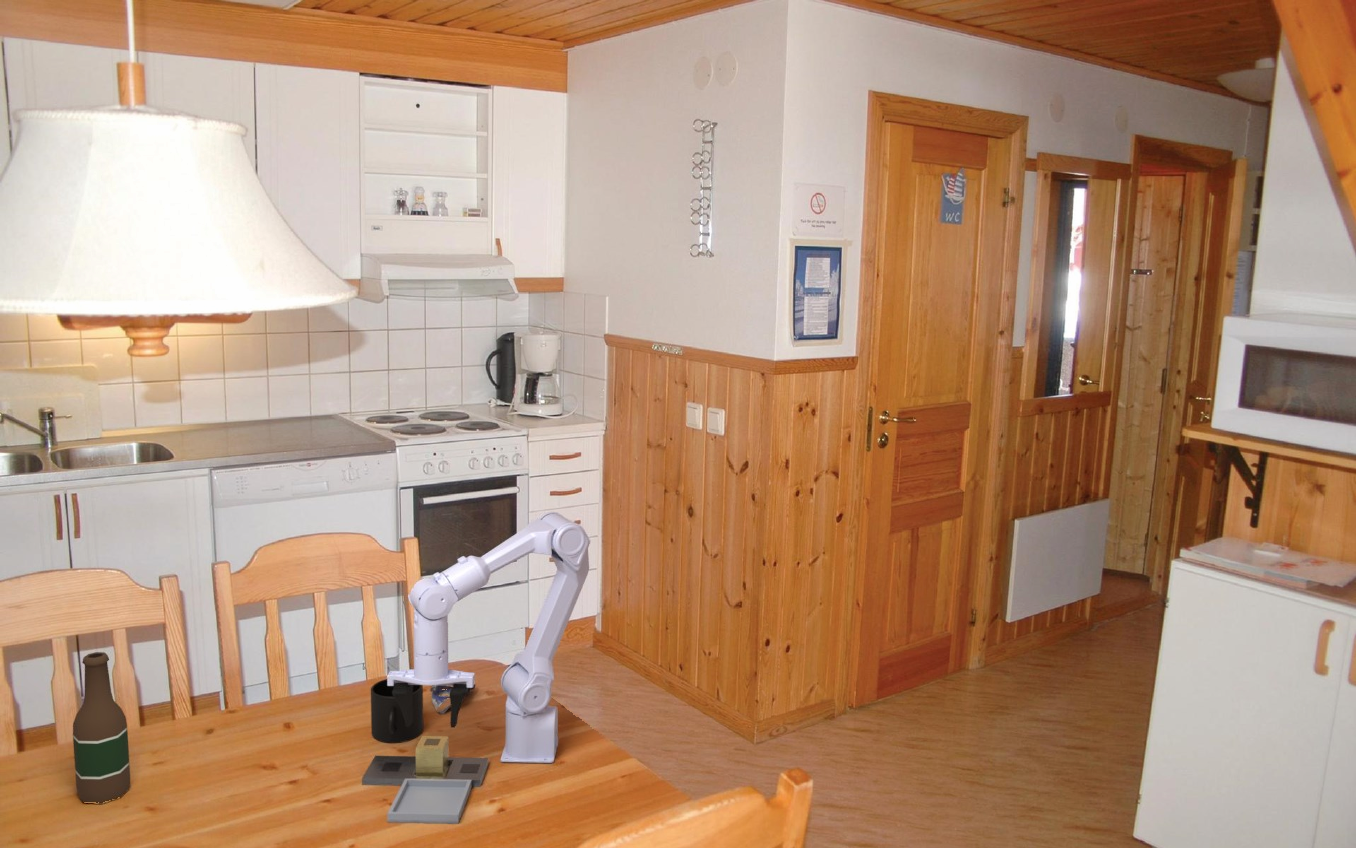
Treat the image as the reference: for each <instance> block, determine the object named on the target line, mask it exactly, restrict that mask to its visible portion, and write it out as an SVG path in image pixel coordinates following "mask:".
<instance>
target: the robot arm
mask: <svg viewBox="0 0 1356 848" xmlns="http://www.w3.org/2000/svg"><path fill="white" fill-rule="evenodd" d="M590 544H591V540H590V537H589V535H588V534H587V532H586V530H585V529H584V527H583V526H582V525H580V524H579V523H576V522H574V521H572V520H570V519H568V518H566V517H565V516H564V515H562V514H560V513H559V512H555V511H550V512H546V513H544V514H543V515H541V516H540V517H539V518H535V519H533V520H531V521H530V522H529V523H528V524H527V525H526V526H525V527H524V528H523V529H521V530H520V531H518V532H516V533H515V534H514V535H512V536H510V537H509V538H508V539H506V540H504V541H502V543H500V544H499V545H497V546H496V547H494V548H492V549H491V550H489V551H488V552H487V553H485V554H483V555H481V556H474V555H469V556H467V557H466V556H464V555H463V556H461V557H459V558H457V562H456V563H455V564H453V565H451V566H450V567H448V568H447V569H445V570H443V571H441V572H438V571H437V572H435V573H433V574H432V575H433V576H432V577H429V578H428V577H425V578H423V579H419V580H418V581H417V582H416V583H414V585H413V587H411V590H410V593H408V595H407V597H408V601H409V603H410V605H411V606H412V608H414V609H413V627H412V628H413V669H405V670H390V671H389V672H388V674H387V675H386V676H387V677H386V679H387V686H394V689H393V691H392V693H393V696H394V698H395V699H396V701H397V702H398V704H399V706H400V708H401V710H402V713H403V716H404V720H405V724H406V727H410V726H411V724H412V722H413V706H412V696H413V685H423V686H432V685H441V686H451V687H453V688H452V689H451V691H450V698H449V700H450V705H451V707H450V721H449V722H450V728H451V729H454V728H455V729H456V726H457V724H458V719H459V715H460V714H459V713H460V710H461V709H460V708H461V705H462V703H463V701H464V700H463V698H464V695H465V693H466V690H467V688H473V686H474V684H476V679H475V678H476V675H475V674H476V672H467V671H461V670H455V669H449V622H448V620H449V619H448V616H449V614H450V612H451V611H452V610H453V606H454V605H455V604H456V603H458V602H459V601H461V600H463V599H464V598H466V597H468V596H470V595H471V594H472V593H474V592H476V591H477V590H478V591H479V589H481V588H483V587H484V586H486V585H488V583H489V580H490V577H491V575H492V574H493V573H495V572H497V571H499V570H501V569H504V567H506V566H508V565H509V566H510V564H513V563H514V562H516V561H518V560H520V559H522V558H524V557H526V556H527V555H529V554H539V555H547V556H550V557H551V559H552V561H553V562H554V565H555V566H556V572H555V574H554V577H553V579H552V581H551V584H550V587H549V589H548V591H547V594H546V596H545V599H544V601H543V604H542V606H541V608H540V611H539V613H538V616H537V618H536V621H535V623H534V626H533V628H532V631H531V634H530V635H529V638H528V641H527V643H526V645H525V648H524V649H523V650H522V651H520V652H518V653H517V654H515V656H514V658H513V660H512V663H510V665H509V666H508V667H507V668H506V669H505V670H504V671H503V672H502V675H501V678H500V687H501V689H502V691H503V692H504V693H505V694H506V701H505V744H504V748H503V750H502V754H501V756H500V762H501V763H539V764H540V763H541V764H551V763H554V762H555V758H556V754H557V753H556V752H557V751H558V750H557V748H558V746H559V736H558V735H559V734H558V732H559V731H558V729H559V728H558V727H559V724H558V723H559V711H558V706H555V705H549V704H550V701H551V699H552V685H553V682H554V679H555V674H554V665H553V660H554V658H555V655H556V654H557V650H558V649H559V646H560V643H561V641H562V638H563V636H564V633H565V631H566V628H567V626H568V623H569V620H570V618H571V616H572V614H573V611H574V609H575V606H576V604H577V602H578V599H579V597H580V594H581V591H582V589H583V587H584V585H585V582H586V579H587V577H588V574H589V571H590V564H589V563H590V561H589V560H590V559H589V547H590ZM464 699H465V698H464Z"/></svg>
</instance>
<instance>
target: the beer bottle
mask: <svg viewBox="0 0 1356 848" xmlns="http://www.w3.org/2000/svg"><path fill="white" fill-rule="evenodd" d="M109 661H110V658H109V655H108V653H106V652H104V651H99V652H98V651H97V652H90V653H88V654H87V655H85V656H84V657H83V658H82V664H83V665H84V697H83V704H82V705H81V707H80V708H79V710H78V711H77V713H76V714H75V718H74V721H73V723H72V742H73V757H74V759H73V760H74V771H75V783H76V784H75V785H76V792H77V797H78V796H79V797H80V798H79V799H80V800H81V802H82V801H83V802H96V803H98V802H99V803H103V802H105V801H109V800H112V799H116V798H118V797H121V796H122V795H123V794H124V793H125V792H126V791H127V790H128V789H129V788H130V789H131V770H130V769H131V767H130V754H129V753H130V751H129V736H128V735H129V733H128V732H129V731H128V723H127V717H126V715H125V713H124V711H123V709H122V708H121V707H120V706H119V704H118V703H117V702H116V701H115V699H114V697H113V693H112V688H111V681H110V680H111V679H110V674H109V673H110V671H109V666H108V665H109V664H108V662H109ZM130 789H129V790H130ZM129 790H128V791H129ZM128 791H127V792H128ZM127 792H126V793H127ZM126 793H125V794H126ZM125 794H124V795H125ZM124 795H123V796H124ZM123 796H122V797H123ZM122 797H121V798H122ZM83 802H82V803H83Z"/></svg>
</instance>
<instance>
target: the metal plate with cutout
mask: <svg viewBox="0 0 1356 848" xmlns="http://www.w3.org/2000/svg"><path fill="white" fill-rule="evenodd" d="M448 759H449V769H448V771H447V773H446V776H445V777H432V776H416V755H415V756H413V755H412V756H407V755H406V756H404V755H374V757H373V759H372V760H371V762H370V764H369V766H368V767H367V769H366V770H365V773H364V774H363V776H362V778H361V785H362V786H364V785H365V786H366V785H367V786H402V784H403V782H404V780H405V778H408V779H459V780H472V788H481V785H482V783H483V781H484V778H485V774H486V773H487V769H488V766H489V757H466V756H464V757H463V756H462V757H461V756H460V757H459V756H458V757H457V756H448Z"/></svg>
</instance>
